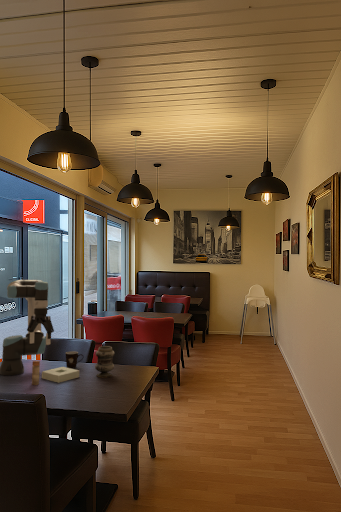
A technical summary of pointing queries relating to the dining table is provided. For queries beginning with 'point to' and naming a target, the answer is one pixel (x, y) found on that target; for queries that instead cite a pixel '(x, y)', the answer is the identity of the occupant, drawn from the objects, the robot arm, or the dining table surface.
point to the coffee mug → (72, 359)
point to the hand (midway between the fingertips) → (39, 344)
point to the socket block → (60, 374)
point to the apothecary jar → (104, 361)
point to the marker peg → (35, 372)
